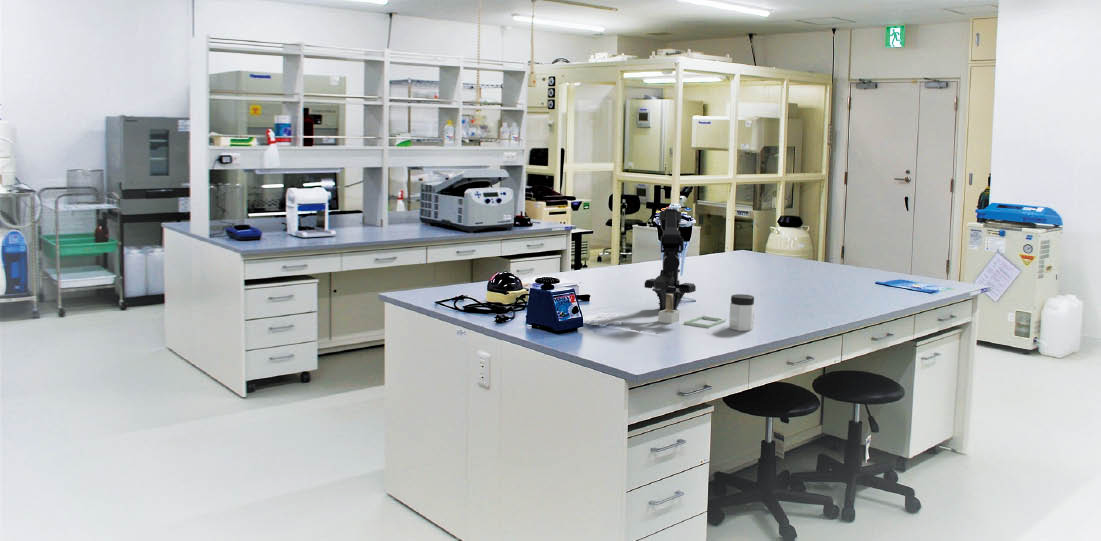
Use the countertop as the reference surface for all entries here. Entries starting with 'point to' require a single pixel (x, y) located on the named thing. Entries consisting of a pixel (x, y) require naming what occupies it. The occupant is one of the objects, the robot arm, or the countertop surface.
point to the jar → (741, 312)
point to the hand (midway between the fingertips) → (669, 308)
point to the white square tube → (668, 316)
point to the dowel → (669, 303)
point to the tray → (691, 322)
